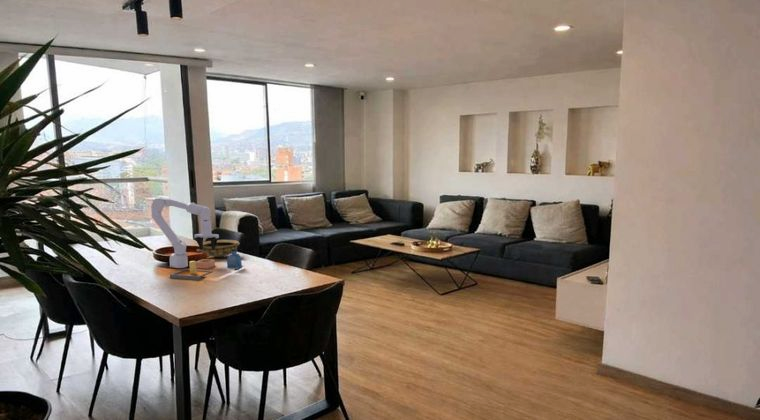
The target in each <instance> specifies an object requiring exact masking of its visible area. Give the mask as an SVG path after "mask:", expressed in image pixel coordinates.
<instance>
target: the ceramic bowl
mask: <svg viewBox="0 0 760 420" xmlns="http://www.w3.org/2000/svg"><path fill="white" fill-rule="evenodd" d="M238 246H240V242H239V241H238V240H234V239H218V240H217V242H216V246H215V250H212V245H211V241H210V240H207V241H203V250H200V248H198V249H196V252H202V254H204V253H206V254H208V255H209V257H213V260H223V259H226V258H227V256H229V255H231V249H232V248H236V249H237V250H238ZM206 254H205V255H206ZM208 255H207V256H208Z"/></svg>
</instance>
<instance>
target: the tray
mask: <svg viewBox="0 0 760 420" xmlns="http://www.w3.org/2000/svg"><path fill="white" fill-rule="evenodd" d="M185 271H189V272H190V268H182V269H181V270H179V271H175V272H173V273H170V274H169V278H170V279H175V280H176V279H177V280H189V281H190V280H191V281H201V280H203V279H206V278H207V276H206V275H208V274H211V273H213V272H214V271H213V270H207V269H204V270H203V269H196V272H201V273H202V274H200V275H192V274H190V275H188V274H179V273H182V272H185Z"/></svg>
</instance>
